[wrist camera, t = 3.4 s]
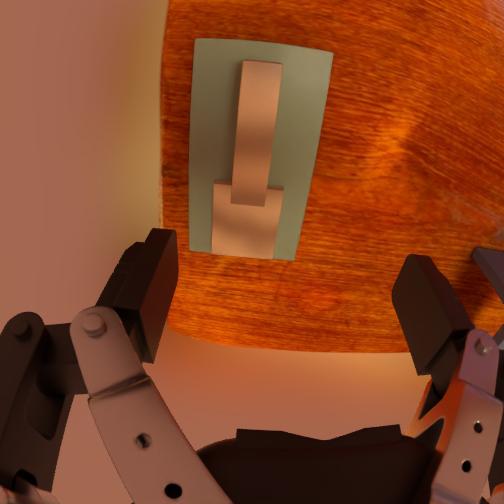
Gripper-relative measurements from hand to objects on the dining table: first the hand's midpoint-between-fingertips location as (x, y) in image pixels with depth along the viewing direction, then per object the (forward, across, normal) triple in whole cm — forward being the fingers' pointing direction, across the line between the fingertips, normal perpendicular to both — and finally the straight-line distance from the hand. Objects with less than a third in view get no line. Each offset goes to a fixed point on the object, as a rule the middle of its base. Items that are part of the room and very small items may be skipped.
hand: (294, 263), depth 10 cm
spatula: (+15, +2, +3) cm, 16 cm away
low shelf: (+18, +2, +2) cm, 18 cm away
